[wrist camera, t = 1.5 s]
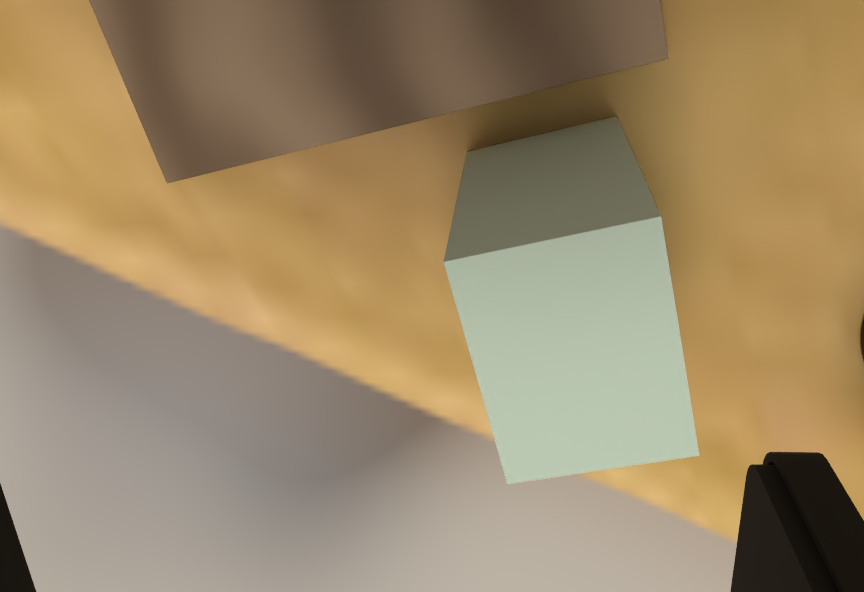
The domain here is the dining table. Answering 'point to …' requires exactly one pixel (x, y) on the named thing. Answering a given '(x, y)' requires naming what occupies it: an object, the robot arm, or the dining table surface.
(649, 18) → the board
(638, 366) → the grey-green rectangular block
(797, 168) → the dining table surface
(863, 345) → the olive oil
